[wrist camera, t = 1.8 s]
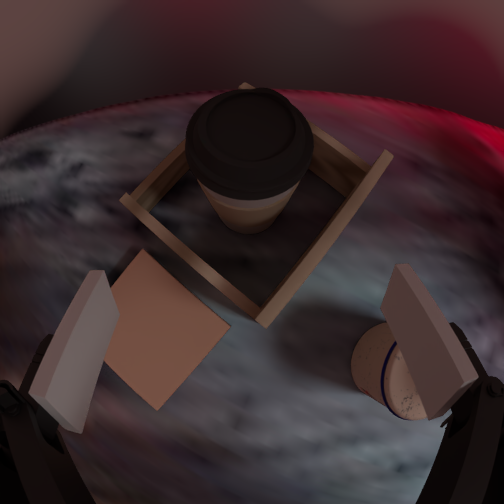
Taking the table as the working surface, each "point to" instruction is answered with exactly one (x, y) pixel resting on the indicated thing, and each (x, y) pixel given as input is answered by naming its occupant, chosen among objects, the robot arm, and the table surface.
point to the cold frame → (355, 190)
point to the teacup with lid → (385, 373)
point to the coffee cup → (248, 155)
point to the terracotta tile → (159, 330)
